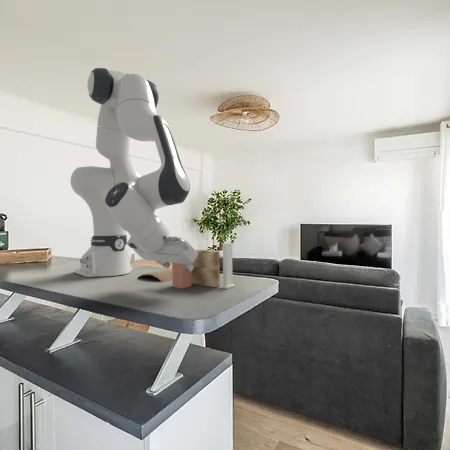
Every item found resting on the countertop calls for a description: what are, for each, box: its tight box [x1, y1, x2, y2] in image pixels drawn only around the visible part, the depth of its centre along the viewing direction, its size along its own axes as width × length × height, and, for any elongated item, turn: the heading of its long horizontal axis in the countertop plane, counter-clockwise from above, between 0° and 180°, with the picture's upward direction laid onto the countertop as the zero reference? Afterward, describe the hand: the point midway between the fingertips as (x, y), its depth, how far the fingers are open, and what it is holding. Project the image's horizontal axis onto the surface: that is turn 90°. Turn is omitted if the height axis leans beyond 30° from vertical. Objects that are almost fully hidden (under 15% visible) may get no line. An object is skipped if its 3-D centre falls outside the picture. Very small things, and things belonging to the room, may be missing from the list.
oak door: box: [192, 249, 221, 288], centre depth 94 cm, size 13×2×10 cm, turn 53°
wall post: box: [220, 242, 236, 290], centre depth 91 cm, size 2×4×13 cm, turn 143°
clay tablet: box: [137, 269, 173, 283], centre depth 107 cm, size 14×10×3 cm
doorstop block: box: [171, 263, 193, 289], centre depth 93 cm, size 4×4×8 cm
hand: (178, 268), depth 92 cm, fingers open, 8 cm apart
